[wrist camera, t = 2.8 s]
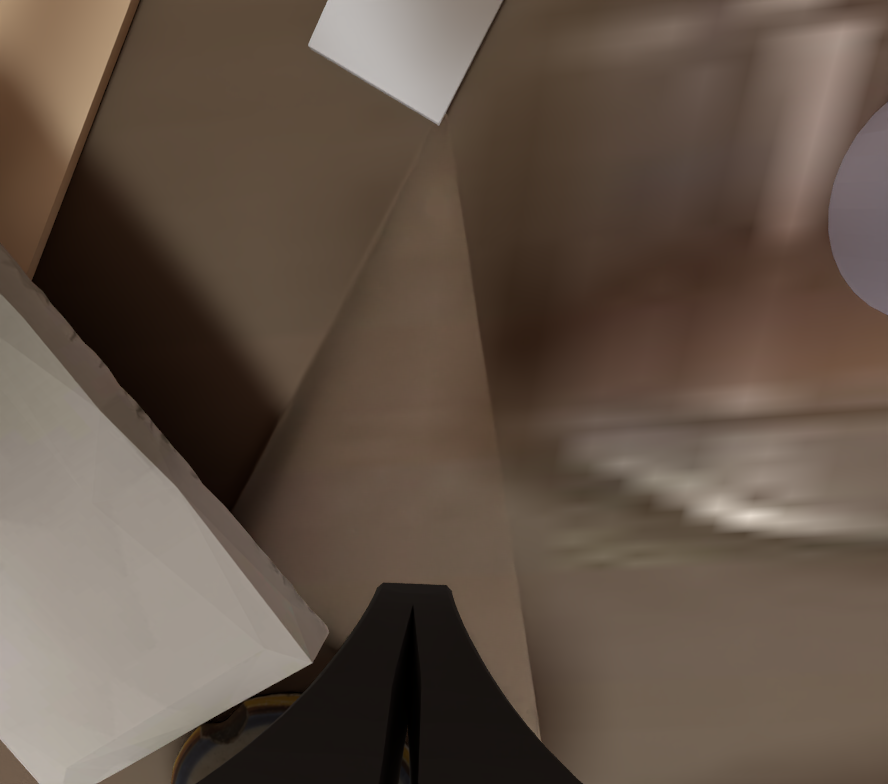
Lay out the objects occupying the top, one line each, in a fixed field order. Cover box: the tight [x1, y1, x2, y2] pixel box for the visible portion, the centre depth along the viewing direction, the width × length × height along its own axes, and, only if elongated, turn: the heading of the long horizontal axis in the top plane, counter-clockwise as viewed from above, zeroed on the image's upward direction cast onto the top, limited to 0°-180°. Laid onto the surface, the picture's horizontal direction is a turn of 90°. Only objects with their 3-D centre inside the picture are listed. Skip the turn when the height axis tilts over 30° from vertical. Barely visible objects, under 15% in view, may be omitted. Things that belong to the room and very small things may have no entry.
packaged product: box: [0, 243, 329, 784], centre depth 18 cm, size 18×5×10 cm
